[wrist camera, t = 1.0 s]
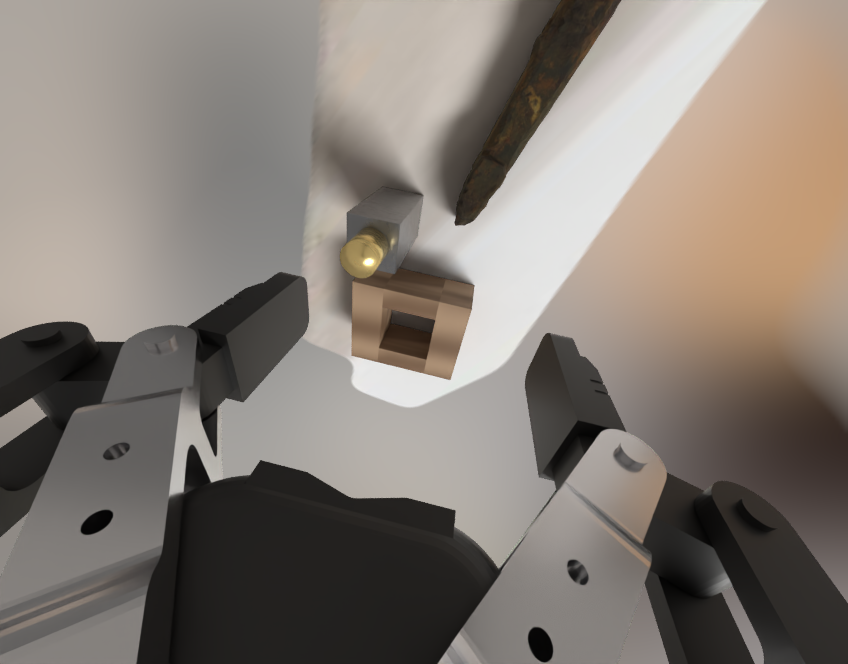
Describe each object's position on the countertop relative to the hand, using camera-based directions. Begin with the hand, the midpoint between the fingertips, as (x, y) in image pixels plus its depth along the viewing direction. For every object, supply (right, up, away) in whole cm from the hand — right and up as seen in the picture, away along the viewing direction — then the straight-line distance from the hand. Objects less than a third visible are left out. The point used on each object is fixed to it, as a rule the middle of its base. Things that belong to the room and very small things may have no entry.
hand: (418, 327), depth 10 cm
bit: (-2, +12, +20) cm, 23 cm away
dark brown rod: (+8, +17, +14) cm, 24 cm away
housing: (-1, +2, +27) cm, 27 cm away
